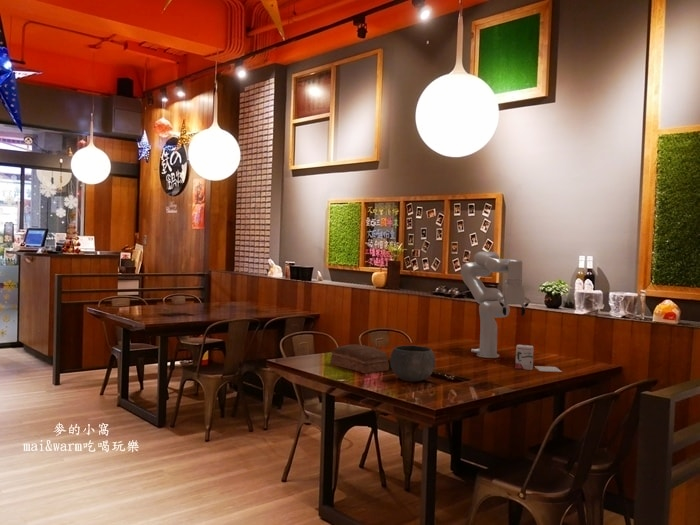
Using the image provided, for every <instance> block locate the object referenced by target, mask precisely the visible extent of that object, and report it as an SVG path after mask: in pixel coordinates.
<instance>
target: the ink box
mask: <svg viewBox="0 0 700 525" xmlns="http://www.w3.org/2000/svg"><path fill="white" fill-rule="evenodd" d="M515 349H516V350H515V369H516V370H517V369H518V370H528V371H529V370H530V371H533V369H534V368H533V367H534V350H535V349H534V346H533V345H527V344H516V347H515Z"/></svg>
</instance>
